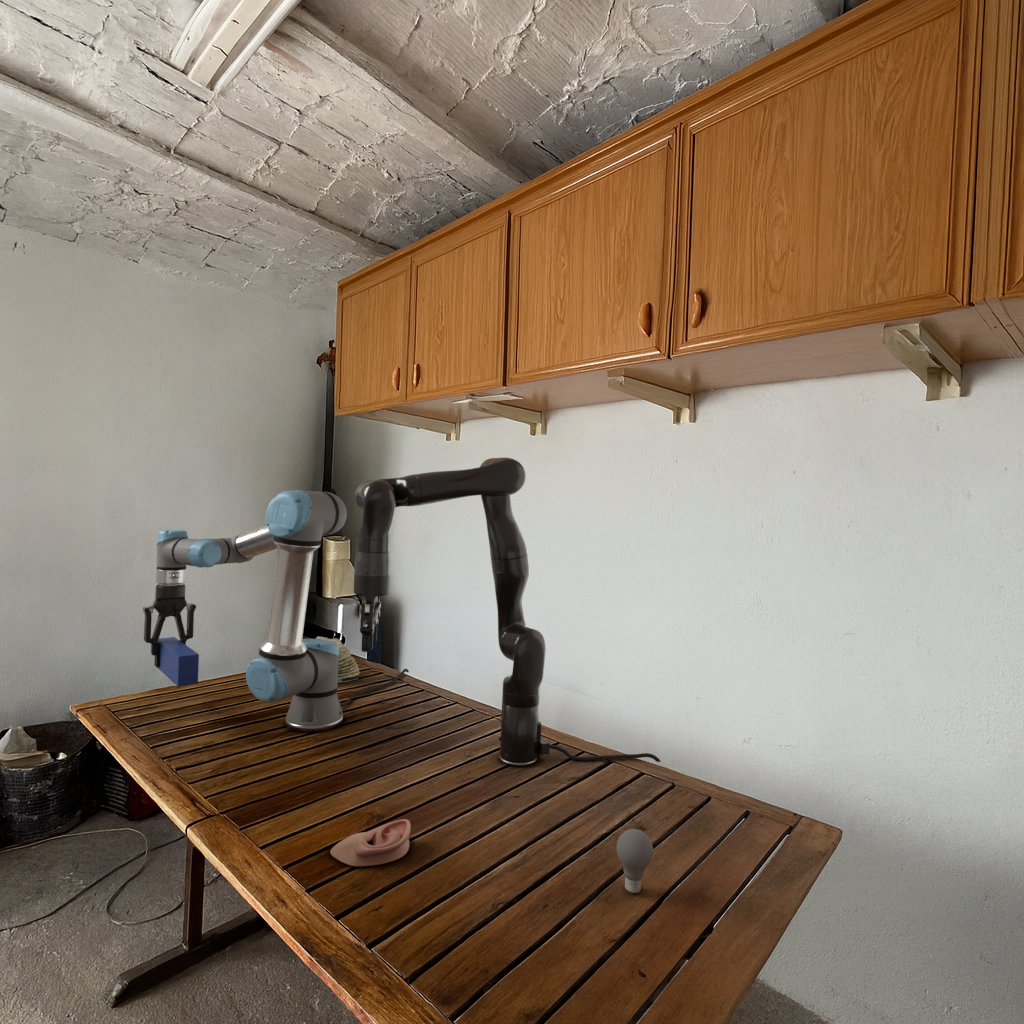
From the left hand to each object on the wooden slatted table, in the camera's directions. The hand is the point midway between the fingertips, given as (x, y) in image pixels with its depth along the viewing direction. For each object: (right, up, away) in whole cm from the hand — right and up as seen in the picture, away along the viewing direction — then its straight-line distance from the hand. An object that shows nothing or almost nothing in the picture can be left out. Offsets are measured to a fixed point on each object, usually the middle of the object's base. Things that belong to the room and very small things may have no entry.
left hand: (167, 664), depth 181 cm
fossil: (+37, -14, +35) cm, 53 cm away
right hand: (+68, +15, -44) cm, 82 cm away
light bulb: (+119, -20, -76) cm, 142 cm away
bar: (+6, -1, -6) cm, 8 cm away
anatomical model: (+73, -17, -67) cm, 101 cm away
